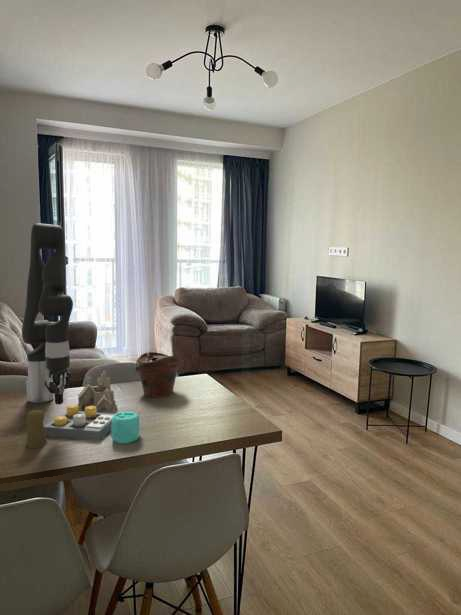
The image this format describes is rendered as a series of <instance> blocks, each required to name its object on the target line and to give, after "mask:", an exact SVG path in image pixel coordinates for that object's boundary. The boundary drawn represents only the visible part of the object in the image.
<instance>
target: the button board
mask: <svg viewBox="0 0 461 615" xmlns="http://www.w3.org/2000/svg"><path fill="white" fill-rule="evenodd" d="M79 414H85V412H82V411H79ZM115 414H116V413H115ZM115 414H109V413H97V416H96V417H93V418H86V424H85V425H84V426H74V425H73V416H67V411H65V412H64V413H62V414H60V416H66V417H67V424H66V425H65V426H64V427H63V426H55V424H54V419H53V420H52V421H49V422H48V423H47V424H46V425H43V426H44V431H45V436H49V437H57V438H58V437H60V438H69V439H82V440H83V439H84V440H93V441H94V440H95V441H100V440H101V439H102V438H103V437H105V436H106V435H107V434H108V433H109V432H111V424H112V418H113V416H114V415H115Z"/></svg>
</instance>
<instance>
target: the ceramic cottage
mask: <svg viewBox="0 0 461 615" xmlns="http://www.w3.org/2000/svg"><path fill="white" fill-rule="evenodd" d="M96 378H97V381H96V382H97V386H93V385H92V377H91V376H87V377H86V384H85V386H84V388H83V389H82V390H81V391H79V392H80V393H79V394H77V400H78V403H77V405H78V408H79V411H82V412H85V407H88V406H96V407H97V413H109V414H117V413H118V410H119V409H118V404H116V400H115V395H114V394H115V392H114V390H112V389H111V377H107V372H106V371H105V370H103V372H102V373H101V375H100V377H96Z"/></svg>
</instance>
